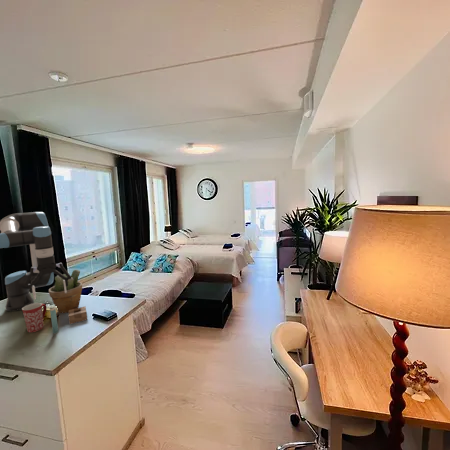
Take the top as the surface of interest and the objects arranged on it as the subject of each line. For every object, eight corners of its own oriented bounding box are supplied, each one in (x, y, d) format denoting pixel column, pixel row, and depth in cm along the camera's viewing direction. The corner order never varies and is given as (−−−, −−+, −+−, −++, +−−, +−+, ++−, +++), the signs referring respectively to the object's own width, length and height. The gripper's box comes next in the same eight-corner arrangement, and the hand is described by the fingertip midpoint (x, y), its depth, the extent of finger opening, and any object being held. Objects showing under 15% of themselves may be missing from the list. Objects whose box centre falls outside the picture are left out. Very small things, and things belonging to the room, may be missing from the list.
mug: (35, 334, 138) (31, 310, 136) (21, 333, 140) (17, 309, 138) (54, 322, 150) (51, 300, 148) (41, 321, 152) (38, 299, 150)
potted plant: (66, 317, 155) (61, 278, 152) (44, 314, 161) (38, 276, 158) (90, 304, 172) (86, 268, 169) (70, 302, 178) (65, 267, 175)
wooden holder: (69, 318, 154) (68, 310, 154) (86, 313, 159) (85, 306, 158) (69, 324, 147) (68, 316, 146) (87, 319, 151) (86, 311, 151)
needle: (53, 331, 139) (49, 307, 137) (58, 330, 140) (55, 306, 139) (52, 334, 137) (49, 309, 135) (58, 332, 138) (55, 307, 137)
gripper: (13, 262, 124) (19, 303, 126) (73, 253, 137) (77, 291, 139) (16, 259, 130) (22, 299, 133) (72, 251, 143) (77, 287, 146)
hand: (50, 295), depth 136 cm, fingers open, 13 cm apart
